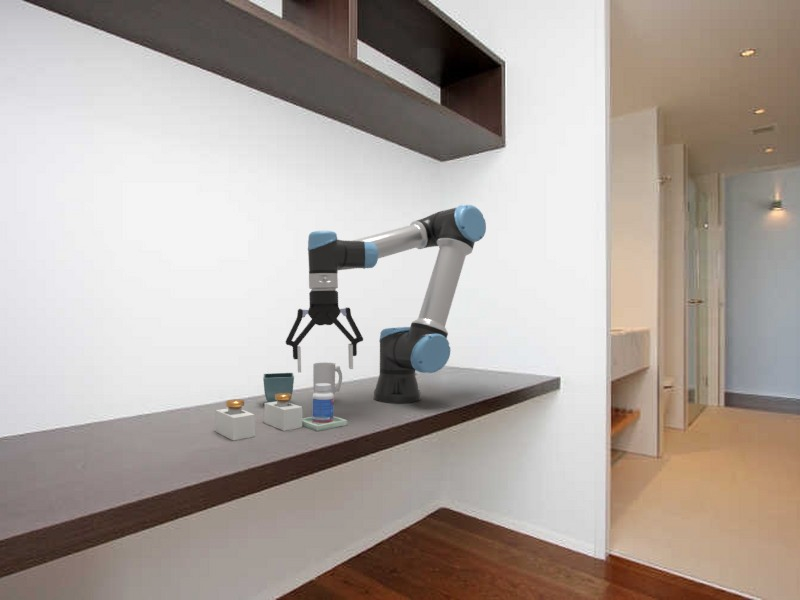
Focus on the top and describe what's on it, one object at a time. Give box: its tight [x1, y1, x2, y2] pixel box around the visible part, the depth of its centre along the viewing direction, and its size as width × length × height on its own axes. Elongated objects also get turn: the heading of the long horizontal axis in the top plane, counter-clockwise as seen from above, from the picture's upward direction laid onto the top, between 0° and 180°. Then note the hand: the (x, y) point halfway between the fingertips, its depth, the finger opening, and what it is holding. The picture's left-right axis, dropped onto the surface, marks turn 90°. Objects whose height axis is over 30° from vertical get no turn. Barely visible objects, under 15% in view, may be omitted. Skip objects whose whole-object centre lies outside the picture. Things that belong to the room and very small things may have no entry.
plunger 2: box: [275, 393, 293, 407], centre depth 117 cm, size 4×4×7 cm
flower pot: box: [262, 372, 295, 403], centre depth 141 cm, size 9×9×9 cm
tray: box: [302, 415, 348, 432], centre depth 118 cm, size 9×9×1 cm
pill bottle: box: [311, 383, 335, 425], centre depth 118 cm, size 6×5×10 cm
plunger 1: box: [225, 398, 245, 415], centre depth 109 cm, size 4×4×7 cm
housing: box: [214, 401, 304, 441], centre depth 113 cm, size 18×10×5 cm, turn 133°
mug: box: [312, 362, 343, 396], centre depth 146 cm, size 10×7×12 cm, turn 132°
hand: (325, 370), depth 124 cm, fingers open, 13 cm apart
